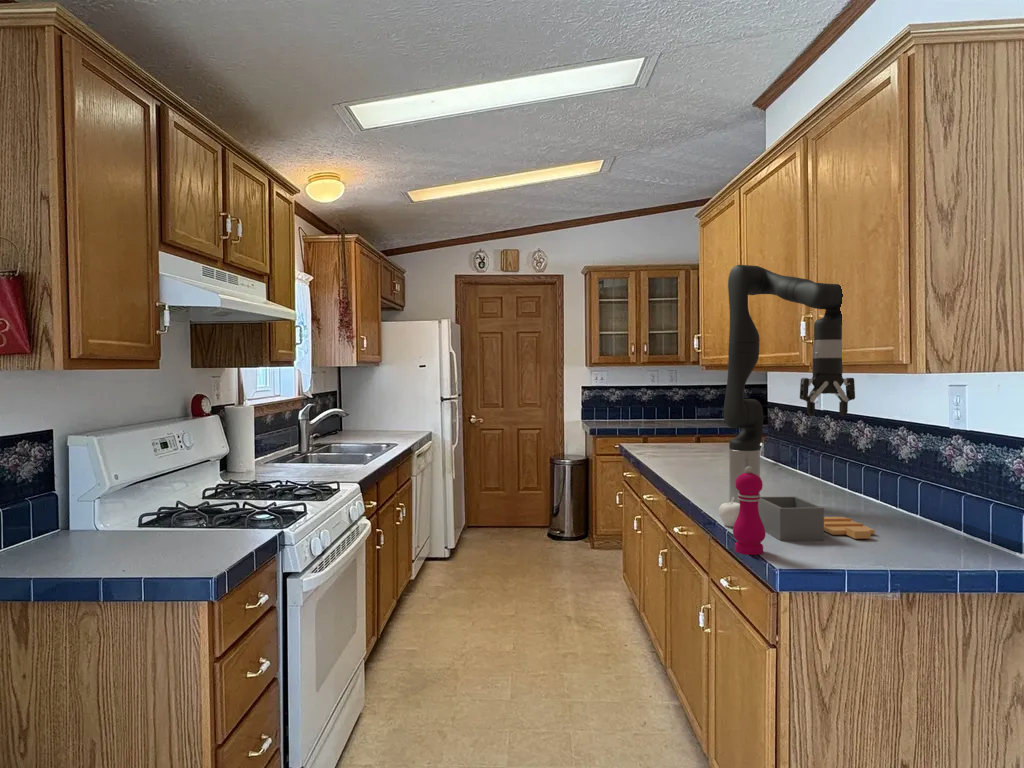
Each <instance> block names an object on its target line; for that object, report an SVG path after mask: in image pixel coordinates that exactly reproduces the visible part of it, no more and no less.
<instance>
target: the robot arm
mask: <svg viewBox="0 0 1024 768" xmlns="http://www.w3.org/2000/svg"><path fill="white" fill-rule="evenodd" d="M840 285H841V284H840ZM840 285H839V283H823V282H815V281H813V280H811V279H807V278H801V277H796V276H787V275H782V274H778V273H776V272H772V271H770V270H768V269H766V268H764V267H761V266H758V265H749V264H737V265H734V266H733V267H732V268H731V270H730V272H729V274H728V279H727V291H728V304H729V305H728V307H729V308H728V309H729V336H728V349H727V350H728V351H727V352H728V355H727V356H728V362H727V363H728V365H727V379H726V380H727V383H726V390H725V396H724V404H723V418H724V422H725V424H726V426H727V427H728V428H730V429H741V431H740V433H739V434H738V435H737V436H735V437H733V438H732V439H730V441H729V445H728V447H729V451H728V452H729V455H728V457H729V459H728V460H729V464H728V465H729V476H728V477H729V480H728V481H729V493H728V495H729V497H728V499H729V502H731V501H732V498H733V497H734V500H733V502H735V503H740V501H739V500H738V493H739V491H738V490H737V488H736V485H735V483H736V479H737V477H738V476H739V475H741V474H743V473H746V472H745V468H746V467H748V466H750V467H752V469H753V472H752V473H753V474H756V475H758V476H759V477H760V478H761V460H760V459H761V457H760V456H761V453H760V452H761V444H762V440H763V429H764V427H763V426H764V410H763V406H762V404H761V403H760V401H758V400H757V399H754V398H744V395H745V394H744V392H745V387H746V383H747V381H748V379H749V377H750V376H751V374H752V372H753V371H754V368H755V367H756V365H757V363H758V361H759V358H760V341H761V340H760V339H761V338H760V335H759V330H758V328H757V327H756V324H755V322H754V321H753V319H752V316H751V313H750V310H749V300H748V299H749V296H756V295H772V296H776V297H778V298H780V299H782V300H785V301H786V302H787V301H788V302H791V303H796V304H801V305H804V306H806V307H809V308H813V309H817V310H825V312H824V315H823V317H822V318H819V319H816V320H815V321H814V323H813V344H812V377H811V378H808V377H801V378H800V387H799V389H800V390H799V399H800V400H803V401H804V402H806V413H807V414H808V416H809V417H810V416H811V417H815V415H816V402H815V400H817V398H818V397H820V396H821V394H823V395H825V394H833V395H835V396H836V397H837V398H838V400H839V404H838V405H839V407H838V409H839V412H838V413H839V416H842V417H846V415H847V414H848V410H849V409H848V406H849V401H852V400H853V401H854V400H855V398H856V386H855V378H853V377H846V378H843V371H844V370H843V367H844V365H842V346H843V323H842V314H841V311H840V307H841V304H842V297H843V294H842V289H841V286H840ZM811 384H812V385H813V388H811V391H810V392H809V388H810V386H811ZM842 385H844V386H845V391H844V390H843V388H842ZM759 494H760V495H761V491H760V492H759Z"/></svg>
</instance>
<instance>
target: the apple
mask: <svg viewBox="0 0 1024 768" xmlns="http://www.w3.org/2000/svg"><path fill="white" fill-rule="evenodd" d="M733 500H734V497H733V498H732V501H731V502H724V503H722V504H720V506H719V508H718V514H719V515H718V516H719V517H720V520H721V522H722V523H723V525H724V526H726V527H729V528H733V527H734V524H735V521H736V519H737V517H738V514H739V509H740V503H735V502H733Z"/></svg>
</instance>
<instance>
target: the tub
mask: <svg viewBox="0 0 1024 768" xmlns="http://www.w3.org/2000/svg"><path fill="white" fill-rule="evenodd" d="M758 510H759V515H760V518H761V520H762V523H763V525H764V528H765V533H767V534H768V535H770V536H772V537H773V538H775V539H776V540H779V541H824V540H825V531H824V517H825V507H822V506H820V505H818V504H815V503H813V502H810V501H807V500H805V499H803V498H801V497H798V496H794V495H793V496H792V495H791V496H760V501H759V502H758Z"/></svg>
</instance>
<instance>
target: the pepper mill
mask: <svg viewBox="0 0 1024 768" xmlns="http://www.w3.org/2000/svg"><path fill="white" fill-rule="evenodd" d="M745 472H746V473H743V474H741V475H739V476H738V477H737V479H736V483H735V485H736V488H737V490H738V491H739V493H738V500H739V501H740V509H739V514H738V517H737V519H736V521H735V524H734V527H732V536H733V537H734V539H735V540H736V542H735V543H734V551H735V552H736V553H738V554H740V555H746V556H759V555H762V554H764V545H763V544H762V542H763V541H764V540H765V538H766V532H765V528H764V525H763V523H762V520H761V518H760V515H759V510H758V502H759V501H760V497H761V491H762V490H763V486H764V485H763V480H762V477H761V476H760V477H759V476H758V475H756V474H753V473H752V472H753V469H752V467H750V466H748V467H746V468H745ZM759 492H760V494H759Z"/></svg>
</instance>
